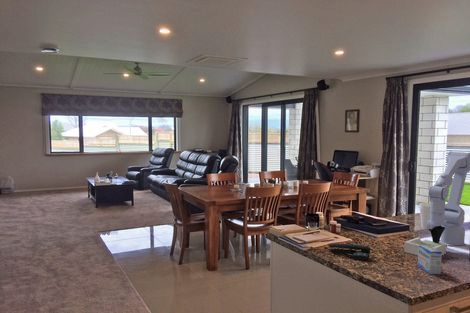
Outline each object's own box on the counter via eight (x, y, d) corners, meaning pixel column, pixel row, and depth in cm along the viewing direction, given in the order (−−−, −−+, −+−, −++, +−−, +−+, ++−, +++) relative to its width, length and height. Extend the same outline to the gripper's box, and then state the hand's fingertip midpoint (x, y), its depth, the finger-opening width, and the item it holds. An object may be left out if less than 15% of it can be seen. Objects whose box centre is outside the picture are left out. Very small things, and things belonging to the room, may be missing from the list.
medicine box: (417, 266, 142) (418, 244, 141) (428, 266, 142) (429, 244, 141) (429, 274, 134) (430, 251, 133) (441, 274, 134) (442, 251, 134)
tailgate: (420, 245, 165) (425, 243, 168) (442, 250, 157) (447, 248, 160) (420, 241, 165) (425, 239, 168) (442, 247, 157) (447, 244, 160)
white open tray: (417, 246, 166) (418, 237, 166) (445, 254, 157) (446, 243, 156) (404, 251, 159) (404, 241, 159) (432, 259, 150) (433, 249, 149)
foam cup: (438, 227, 201) (439, 204, 201) (437, 231, 194) (438, 207, 193) (419, 225, 206) (420, 202, 206) (417, 228, 199) (418, 205, 198)
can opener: (372, 257, 152) (373, 244, 151) (367, 262, 146) (368, 249, 145) (331, 249, 162) (332, 237, 162) (325, 253, 156) (326, 240, 156)
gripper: (435, 209, 170) (434, 237, 171) (420, 212, 162) (419, 242, 163) (451, 211, 165) (450, 241, 166) (437, 215, 156) (435, 246, 157)
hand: (435, 242), depth 164 cm, fingers closed
